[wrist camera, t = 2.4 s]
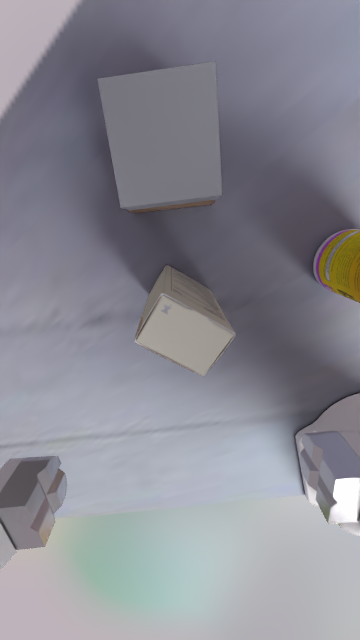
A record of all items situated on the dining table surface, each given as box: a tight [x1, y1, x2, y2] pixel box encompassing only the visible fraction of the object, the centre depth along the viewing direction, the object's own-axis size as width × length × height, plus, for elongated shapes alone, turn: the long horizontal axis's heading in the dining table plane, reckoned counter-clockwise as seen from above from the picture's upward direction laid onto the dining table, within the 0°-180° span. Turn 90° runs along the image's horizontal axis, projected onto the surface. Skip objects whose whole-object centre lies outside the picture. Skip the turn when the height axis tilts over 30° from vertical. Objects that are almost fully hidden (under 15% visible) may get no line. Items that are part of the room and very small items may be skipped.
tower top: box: [97, 61, 222, 211], centre depth 20 cm, size 8×8×4 cm
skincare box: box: [134, 265, 236, 376], centre depth 23 cm, size 6×4×12 cm
